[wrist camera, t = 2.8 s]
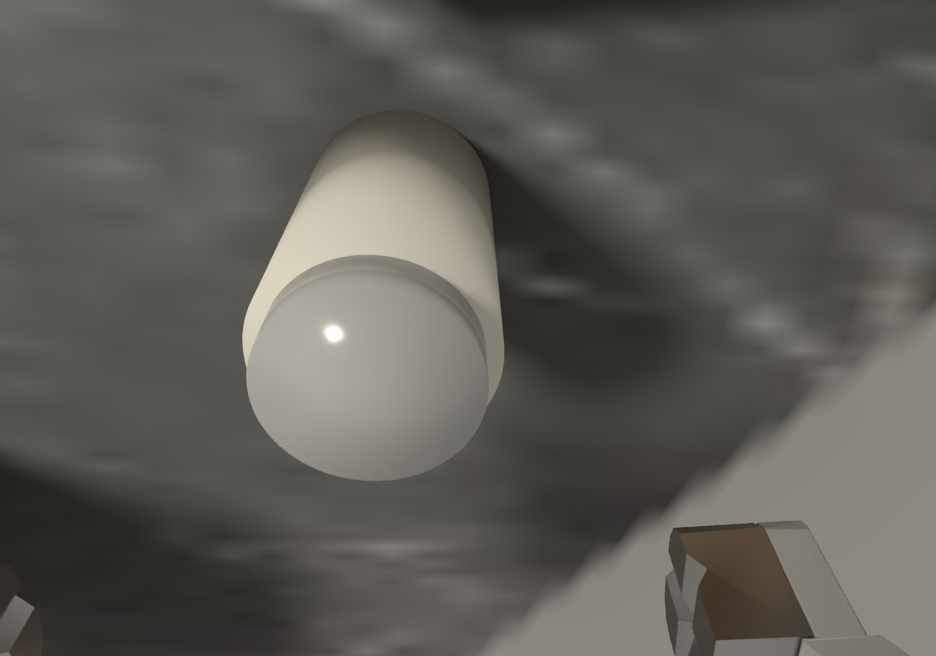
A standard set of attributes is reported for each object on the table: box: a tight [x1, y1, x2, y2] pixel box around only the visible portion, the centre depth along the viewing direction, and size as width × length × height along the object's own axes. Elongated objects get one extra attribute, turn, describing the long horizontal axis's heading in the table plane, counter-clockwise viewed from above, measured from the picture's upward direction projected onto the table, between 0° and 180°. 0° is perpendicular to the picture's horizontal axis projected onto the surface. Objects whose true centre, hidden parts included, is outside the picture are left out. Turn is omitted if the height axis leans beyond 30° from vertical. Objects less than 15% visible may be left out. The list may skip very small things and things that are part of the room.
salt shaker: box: [243, 111, 504, 481], centre depth 15 cm, size 4×4×8 cm
